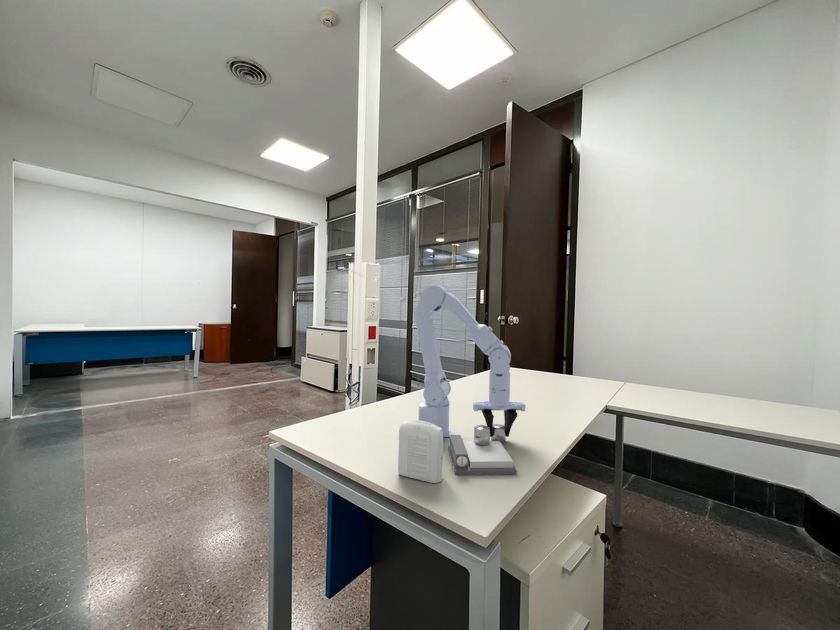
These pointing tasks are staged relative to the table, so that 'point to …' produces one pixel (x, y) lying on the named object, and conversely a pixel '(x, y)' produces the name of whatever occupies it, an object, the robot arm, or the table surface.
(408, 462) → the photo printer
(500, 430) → the spacer
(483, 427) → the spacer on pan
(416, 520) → the table surface
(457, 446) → the scale
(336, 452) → the table surface
